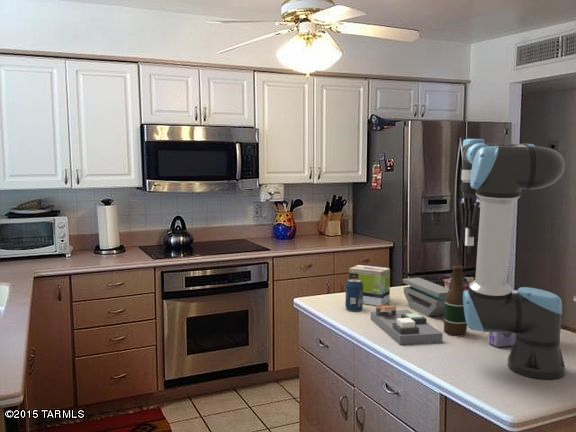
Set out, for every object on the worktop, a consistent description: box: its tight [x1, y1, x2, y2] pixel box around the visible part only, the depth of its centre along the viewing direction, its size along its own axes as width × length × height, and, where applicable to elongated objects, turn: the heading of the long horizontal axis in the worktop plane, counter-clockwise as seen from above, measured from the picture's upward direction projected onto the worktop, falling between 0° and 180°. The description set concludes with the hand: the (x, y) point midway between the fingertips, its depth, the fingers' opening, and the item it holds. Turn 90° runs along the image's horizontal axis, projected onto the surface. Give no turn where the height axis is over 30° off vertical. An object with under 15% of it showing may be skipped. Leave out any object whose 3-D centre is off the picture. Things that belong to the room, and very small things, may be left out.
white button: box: [397, 318, 415, 328], centre depth 180 cm, size 5×5×2 cm
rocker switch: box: [375, 304, 397, 311], centre depth 197 cm, size 9×4×2 cm, turn 11°
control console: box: [370, 306, 444, 346], centre depth 189 cm, size 28×15×6 cm, turn 11°
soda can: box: [344, 278, 364, 312], centre depth 214 cm, size 7×7×12 cm
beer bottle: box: [443, 264, 468, 337], centre depth 186 cm, size 8×8×24 cm
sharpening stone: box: [402, 277, 450, 317], centre depth 212 cm, size 25×8×11 cm, turn 20°
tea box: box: [348, 264, 391, 306], centre depth 226 cm, size 15×10×15 cm, turn 58°
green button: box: [405, 312, 424, 319], centre depth 190 cm, size 5×5×2 cm
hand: (469, 245), depth 197 cm, fingers closed
